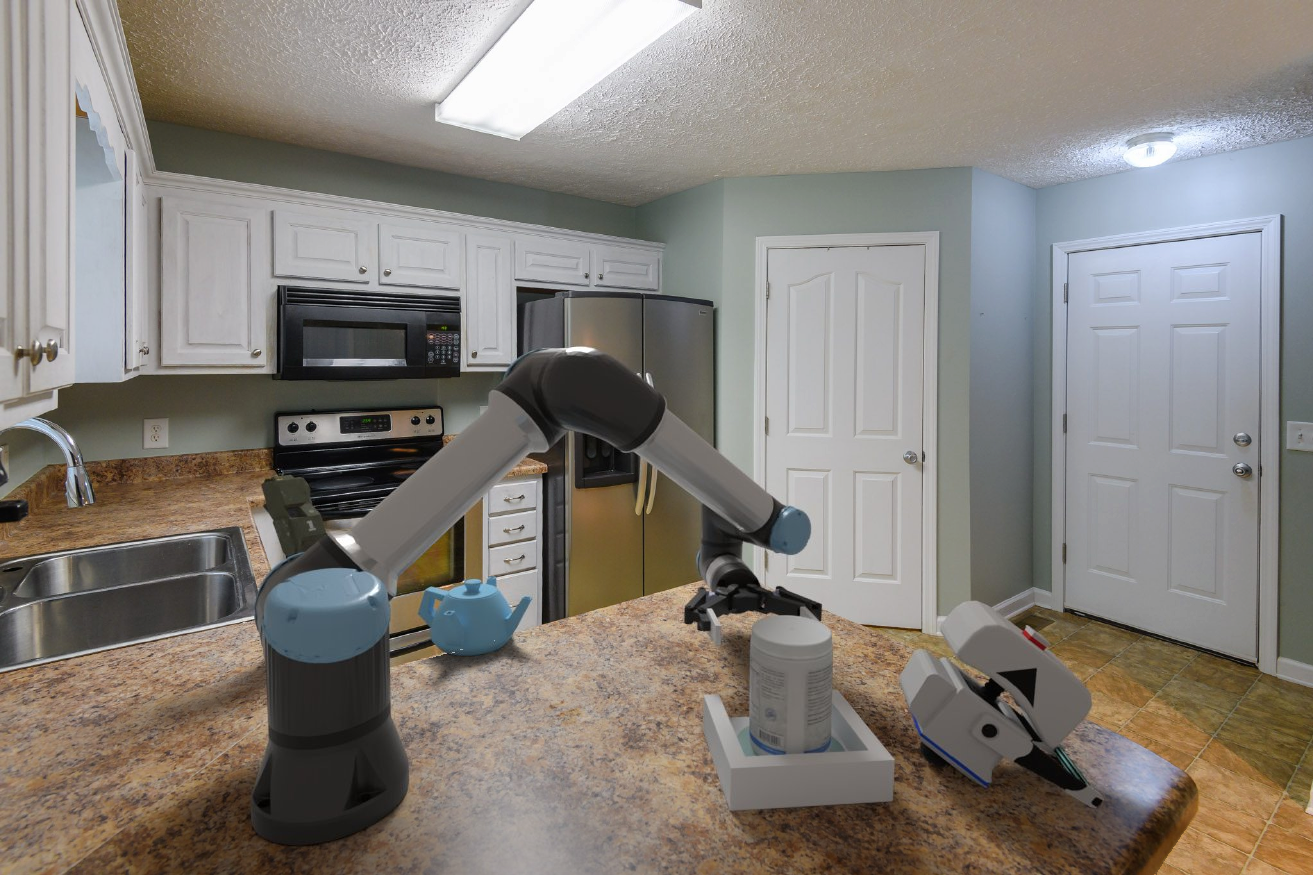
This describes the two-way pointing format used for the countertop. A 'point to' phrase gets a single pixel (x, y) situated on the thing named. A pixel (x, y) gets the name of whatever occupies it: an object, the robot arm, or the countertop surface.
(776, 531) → the robot arm
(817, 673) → the supplement tub
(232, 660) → the countertop surface
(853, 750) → the housing
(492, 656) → the countertop surface
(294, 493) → the mechanical leg
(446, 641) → the teapot
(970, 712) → the robotic device
